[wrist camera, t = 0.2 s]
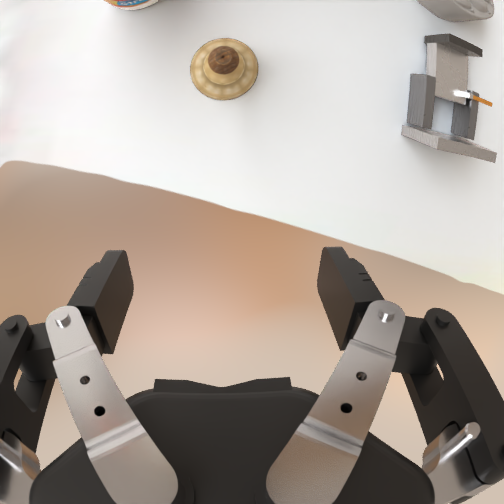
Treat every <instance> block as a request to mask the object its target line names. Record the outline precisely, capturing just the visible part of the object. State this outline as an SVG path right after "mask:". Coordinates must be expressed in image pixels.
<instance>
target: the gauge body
mask: <svg viewBox="0 0 504 504" xmlns="http://www.w3.org/2000/svg"><path fill="white" fill-rule="evenodd" d="M435 87H436V77H433V76H430V75H424V74H411V77H410V92H409V104H408V114H407V123H410V124H414V125H417V126H420V127H423V128H428V129H431V127H432V119H433V110H434V99H435ZM467 92H468V93H471V94H473V95H475V96H477V97H479V94H478V93H476V92H474V91H470V90H467ZM478 102H479V101H476V100H473V99H468V98H466V105H463V104H459V103H455V102H454V109H453V118H452V126H451V133H454V134H457V135H459V136H462V137H465V138H468V139H471V140H474V136H475V129H476V121H477V112H478ZM401 135H403V136H406V137H408V138H411V139H413V140H416V141H418V142H421V143H423V144H426V145H428V146H430V147H433V148H435V149H438V150H443V151H448V152H452V153H457V154H461V155H466V156H470V157H474V158H478V159H482V160H486V161H490V162H494V163H495V160H496V155H497V153H496V152H493V151H491V150H489V149H487V148H484V147H482V146H479V145H477V144H475V143H472V142H470V141H467V140H464V139H462V138H459V137H455V136H451V135H447V134H443V133H439V132H434V131H430V130H425V129H421V128H416V127H411V126H406V125H402V132H401Z"/></svg>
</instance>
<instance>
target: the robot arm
mask: <svg viewBox="0 0 504 504" xmlns="http://www.w3.org/2000/svg"><path fill="white" fill-rule="evenodd" d="M317 287H318V293H319V295H320V298H321V301H322V303H323V306H324V309H325V311H326V314H327V316H328V319H329V322H330V324H331V327H332V330H333V332H334V335H335V338H336V341H337V343H338V346H339V349H340V351H341V350H345V351H344V353H343V355H342V357H341V358H340V360H339V362H338V364H337V366H336V368H335V370H334V372H333V373H332V375H331V377H330V378H329V380H328V382H327V384H326V385H325V387H324V389H323V391H322V392H321V394H320V395H318V394H316V393H313V392H312V391H309V390H306V389H302V388H297V387H292V386H291V381H290V377H284V378H269V379H256V380H252V381H248V382H244V383H240V384H236V385H231V386H227V387H216V386H211V385H206V384H202V383H197V382H193V381H188V380H166V379H155V383H154V389H149V390H145V391H142V392H139V393H137V394H135V395H133V396H131V397H129V398H127V399H126V400H125V398H124V397H123V395H122V393H121V392H120V390H119V388H118V386H117V385H116V383H115V381H114V379H113V378H112V376H111V374H110V372H109V370H108V368H107V367H106V365H105V363H104V361H103V359H102V354H103V353H104V354H113V353H114V350H115V346H116V343H117V340H118V337H119V334H120V331H121V328H122V325H123V322H124V319H125V316H126V313H127V310H128V307H129V305H130V302H131V299H132V296H133V290H134V287H133V280H132V275H131V271H130V266H129V262H128V257H127V254H126V251H124V250H109V251H107V252H106V253H105V255H104V256H103V258H102V260H101V261H100V262H98V263H95V264H94V265H93V266H92V267H91V268H89V269H88V270H87V272H86V274H85V275H84V277H83V279H82V280H81V282H80V283H79V286H78V287H77V289H76V290H75V292H74V294H73V296H72V298H71V299H70V301H69V303H68V304H67V306H62V307H59V308H57V309H55V310H54V311H52V312H51V313H50V314H49V315H48V317H47V319H46V322H45V323H40V324H35V325H29V323H28V321H27V319H26V318H25V317H24V316H22V315H14V316H11V317H9V318H7V319H6V320H5V321H4V322H3V323H2V324H1V325H0V504H448V503H451V504H459V503H462V502H464V501H466V500H467V499H470V498H471V497H473V496H475V495H477V494H479V493H480V492H482V491H484V490H485V489H487V488H489V487H490V486H492V485H494V484H495V483H497V482H499V481H500V480H502V479H503V478H504V401H503V399H502V397H501V395H500V393H499V391H498V389H497V387H496V385H495V383H494V381H493V380H492V378H491V376H490V374H489V372H488V370H487V369H486V367H485V365H484V364H483V362H482V360H481V358H480V357H479V355H478V353H477V352H476V350H475V348H474V346H473V345H472V343H471V342H470V340H469V338H468V337H467V335H466V333H465V332H464V330H463V329H462V327H461V326H460V324H459V322H458V321H457V319H456V318H455V317H454V316H453V315H452V314H451V313H449V312H448V311H446V310H443V309H440V308H432V309H430V310H428V311H427V313H426V315H425V317H424V319H423V318H416V317H409V316H405V313H404V311H403V310H402V308H400V307H399V306H398V305H397V304H395V303H393V302H390V301H386V300H384V298H383V296H382V295H381V293H380V292H379V290H378V288H377V287H376V285H375V283H374V282H373V281H372V279H371V277H370V276H369V274H368V273H367V271H366V270H365V268H364V266H363V265H362V264H361V263H359V262H358V261H357V260H355V259H354V258H349V257H348V255H347V254H346V252H345V250H344V249H343V248H342V247H324V248H323V250H322V255H321V261H320V267H319V273H318V279H317ZM437 364H438V365H439V367H440V368H441V371H442V373H443V377H444V381H443V379H442V377H441V375H440V373H439V371H438V369H437V367H436V365H437ZM19 368H20V370H21V371H22V375H21V378H20V380H19V383H18V385H17V388H16V391H15V390H14V379H15V377H16V374H17V371H18V369H19ZM391 372H399V373H401V374H402V376H403V379H404V381H405V384H406V386H407V389H408V392H409V394H410V397H411V400H412V402H413V405H414V408H415V410H416V413H417V416H418V419H419V422H420V424H421V428H422V430H423V433H424V436H425V439H426V442H427V447H426V448H425V450H424V453H423V465H422V468H420V467H419V466H418V465H416V464H415V463H413V462H412V461H410V460H409V459H407V458H406V457H404V456H403V455H402V454H400V453H399V452H397V451H396V450H394V449H393V448H391V447H390V446H388V445H387V444H386V443H384V442H383V441H381V440H380V439H379V438H377V437H376V436H374V435H373V434H372V433H370V432H369V429H370V426H371V424H372V422H373V419H374V417H375V414H376V412H377V409H378V407H379V404H380V402H381V399H382V397H383V394H384V391H385V389H386V386H387V383H388V380H389V377H390V375H391ZM56 378H58V380H59V383H60V385H61V388H62V391H63V394H64V396H65V399H66V401H67V404H68V407H69V409H70V411H71V414H72V416H73V418H74V421H75V423H76V425H77V428H78V430H79V432H80V434H81V438H80V439H79V440H78V441H77V442H75V443H74V444H73V445H72V446H71V447H69V448H68V449H67V450H66V451H65V452H64V453H62V454H61V455H60V456H59V457H58V458H56V459H55V460H54V461H53V462H52V463H50V465H48V466H47V467H46V468H44V469H43V470H42V471H41V470H40V463H39V460H38V457H37V456H36V454H35V453H36V448H37V444H38V440H39V435H40V431H41V427H42V423H43V419H44V416H45V412H46V408H47V405H48V401H49V398H50V395H51V391H52V388H53V385H54V382H55V379H56Z"/></svg>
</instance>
